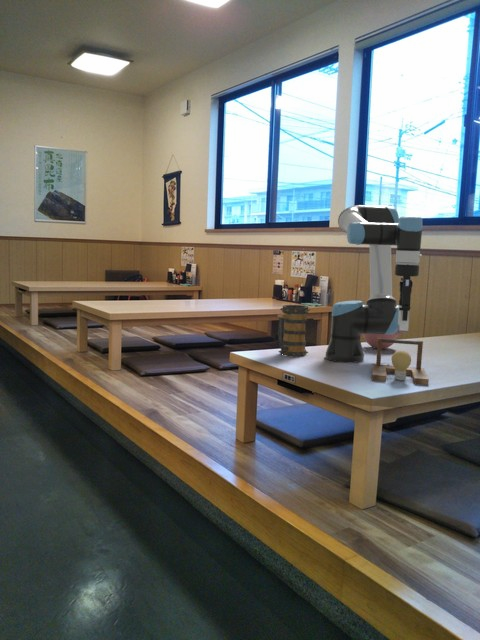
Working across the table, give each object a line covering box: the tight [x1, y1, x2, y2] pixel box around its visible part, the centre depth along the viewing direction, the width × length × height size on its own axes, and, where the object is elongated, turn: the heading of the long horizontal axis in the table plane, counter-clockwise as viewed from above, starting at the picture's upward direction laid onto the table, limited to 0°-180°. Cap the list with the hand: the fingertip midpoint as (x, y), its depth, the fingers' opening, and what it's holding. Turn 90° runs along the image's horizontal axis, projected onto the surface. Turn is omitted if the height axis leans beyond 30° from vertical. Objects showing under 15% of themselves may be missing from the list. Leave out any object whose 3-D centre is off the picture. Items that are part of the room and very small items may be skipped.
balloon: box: [362, 325, 409, 350], centre depth 241 cm, size 15×20×15 cm
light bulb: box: [391, 350, 412, 381], centre depth 183 cm, size 6×6×10 cm
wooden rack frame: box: [371, 338, 430, 386], centre depth 188 cm, size 18×18×12 cm
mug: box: [276, 304, 311, 358], centre depth 221 cm, size 13×17×20 cm
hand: (402, 327), depth 182 cm, fingers open, 13 cm apart
